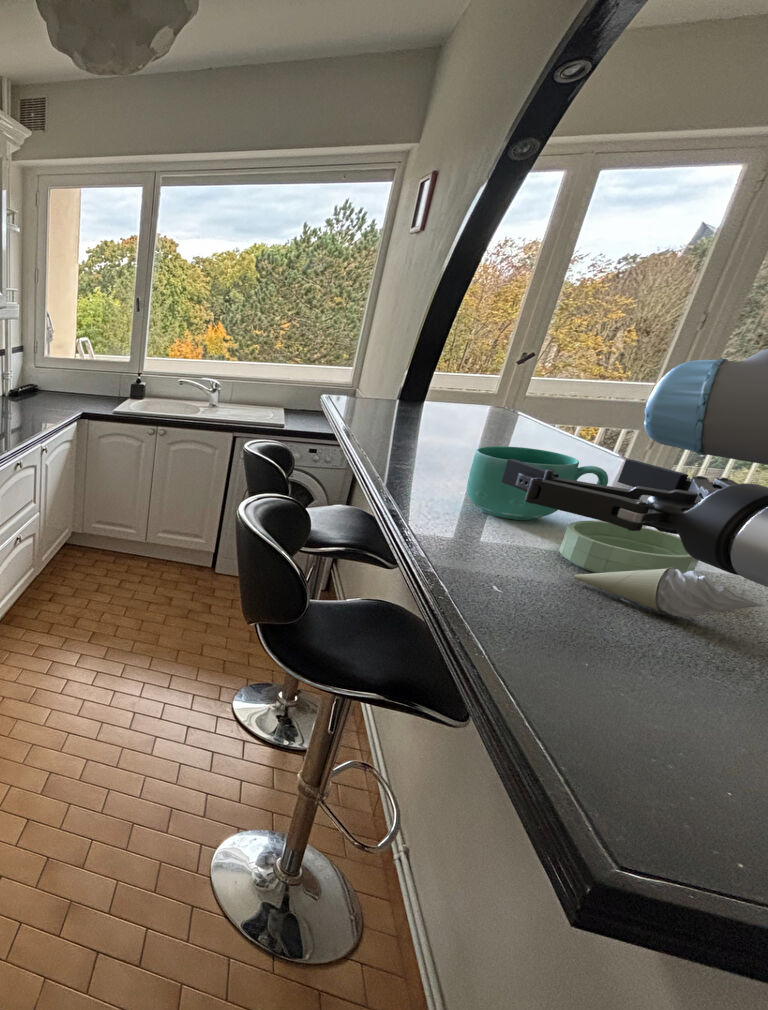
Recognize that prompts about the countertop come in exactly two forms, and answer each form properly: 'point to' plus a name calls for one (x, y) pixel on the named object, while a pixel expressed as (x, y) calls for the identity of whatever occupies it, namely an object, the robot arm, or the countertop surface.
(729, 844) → the countertop surface
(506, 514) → the mug
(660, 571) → the ice cream cone
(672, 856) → the countertop surface
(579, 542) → the bowl
